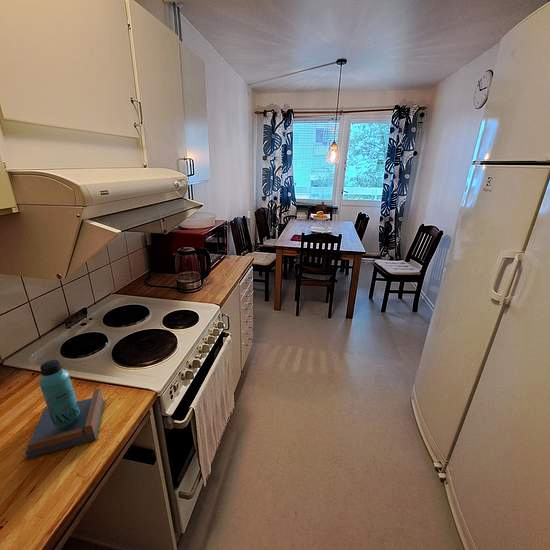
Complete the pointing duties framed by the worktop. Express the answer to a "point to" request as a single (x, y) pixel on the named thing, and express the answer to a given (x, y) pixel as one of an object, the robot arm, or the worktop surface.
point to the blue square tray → (67, 428)
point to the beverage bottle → (59, 394)
